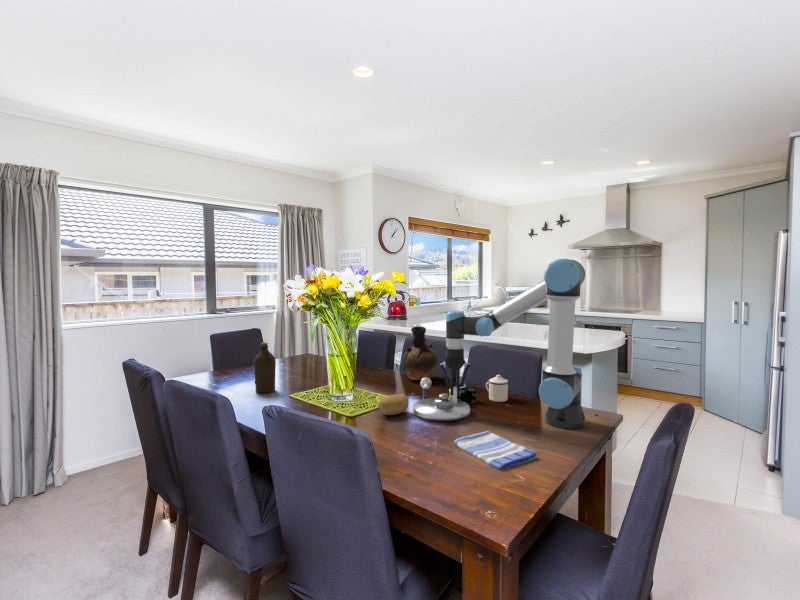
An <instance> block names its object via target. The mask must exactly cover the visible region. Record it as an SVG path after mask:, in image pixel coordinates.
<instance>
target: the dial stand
mask: <svg viewBox="0 0 800 600" xmlns="http://www.w3.org/2000/svg"><path fill="white" fill-rule="evenodd" d="M419 381H420V383H419V384H420V386H421V388H422V400H423V399H428V389H429V388H431V386H432V380H431V378H427V377H424V378H422V379H421V380H419Z"/></svg>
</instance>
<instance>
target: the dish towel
mask: <svg viewBox="0 0 800 600" xmlns="http://www.w3.org/2000/svg"><path fill="white" fill-rule="evenodd" d="M453 445H455V446H456V447H458V448H459V449H461V450H462V451H464V452H466V453H467V454H469V455H471V456H473V457H475V458H476V459H478V460H480V461H482V462H484V463H485V464H487V465H489V466H492V467H493V468H495V469H497V470H500V471H502V470H505V469H509V468H512V467H516V466H519V465H522V464H524V463H528V462H531V461H534V460H537V457H536V456H537V452H536V451H535V450H533V449H530V448H527V447H525V446H523V445H520V444H518V443H514V442H512V441H510V440H509V439H507V438H504V437H502V436H500V435H498V434H495V433H493V432H492V431H491V430H487V431H483V432H480V433H479V432H478V433H474V434H471V435H466V436H462V437H461V436H460V437H459V438H456V439H455V440H454V441H453Z"/></svg>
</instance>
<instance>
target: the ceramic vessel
mask: <svg viewBox="0 0 800 600" xmlns="http://www.w3.org/2000/svg"><path fill="white" fill-rule="evenodd" d="M410 330H411V333H412V337H413V340H412V344H413V345H412V346H408V347H407V348H406V352H405V353H404V355H403V357H402V361H401V364H402V365H401V366H402V369H403V371H404V373H405V375H406V376H407V377H408V378H409V379H411V380H413V381H421V379H422V378H424V377H427V378H429V379H431V377H432V376H433V374H435V372H436V370H437V368H438V365H439V360H438V355H437V354H436V351H435V350H434V348H433V344H432V343H428V344H426V341H427V339H426V337H425V336H426V332H427V328H426V327H425V326H421V325H419V326H417V325H416V326H413V327H412V328H411V329H410Z"/></svg>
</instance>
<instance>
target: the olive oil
mask: <svg viewBox="0 0 800 600" xmlns="http://www.w3.org/2000/svg"><path fill="white" fill-rule="evenodd" d="M268 344H269V343H268V342H261V343H260V351H259V353H258V354H256V355H255V357H254V359H253V367H254V368H253V371H254V379H255V380H254V385H255V393H256V394H259V395H265V394H267V395H268V394H271V393H275V392H276V365H277V364H276V362H277V361H276V357H275V356H274V355H273V353H272V352H270V350H269V345H268Z"/></svg>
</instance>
